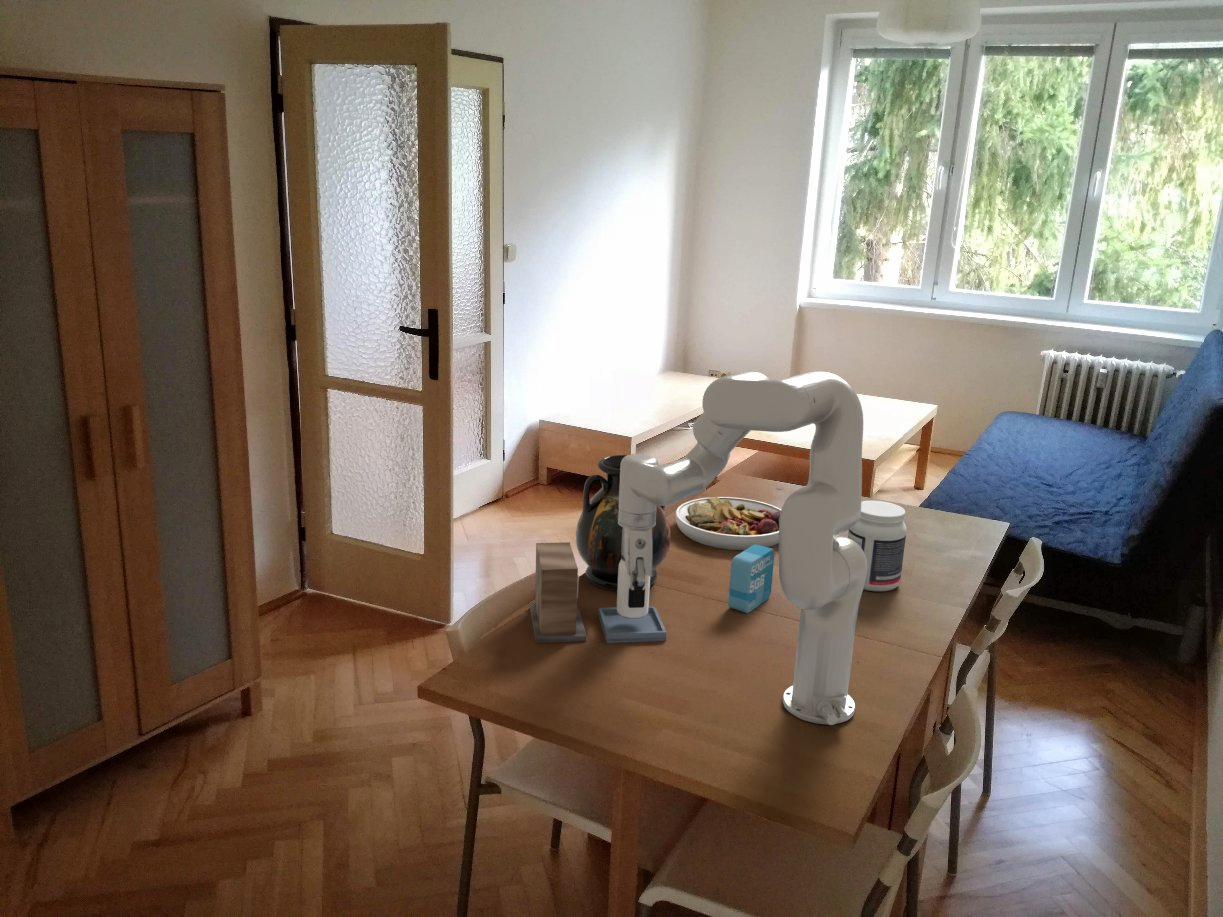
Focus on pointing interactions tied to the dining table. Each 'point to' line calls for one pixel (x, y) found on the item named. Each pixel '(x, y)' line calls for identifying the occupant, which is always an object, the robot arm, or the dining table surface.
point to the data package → (751, 578)
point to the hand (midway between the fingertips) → (633, 598)
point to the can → (624, 594)
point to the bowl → (729, 522)
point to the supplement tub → (881, 543)
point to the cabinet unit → (556, 595)
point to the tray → (631, 626)
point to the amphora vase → (612, 529)
